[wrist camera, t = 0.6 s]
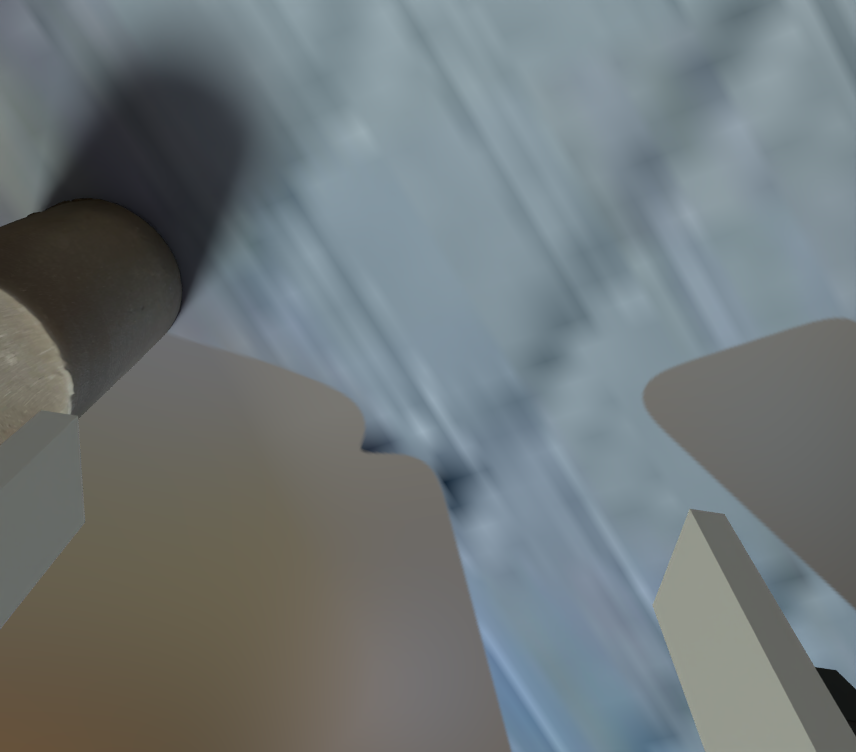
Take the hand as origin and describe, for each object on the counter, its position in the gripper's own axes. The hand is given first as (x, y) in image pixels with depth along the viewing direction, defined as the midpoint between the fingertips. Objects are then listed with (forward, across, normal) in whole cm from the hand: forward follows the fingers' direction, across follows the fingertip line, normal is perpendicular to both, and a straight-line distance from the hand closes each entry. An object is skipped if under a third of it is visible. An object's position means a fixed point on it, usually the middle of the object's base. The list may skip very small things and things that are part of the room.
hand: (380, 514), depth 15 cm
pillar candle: (+27, -19, -6) cm, 34 cm away
